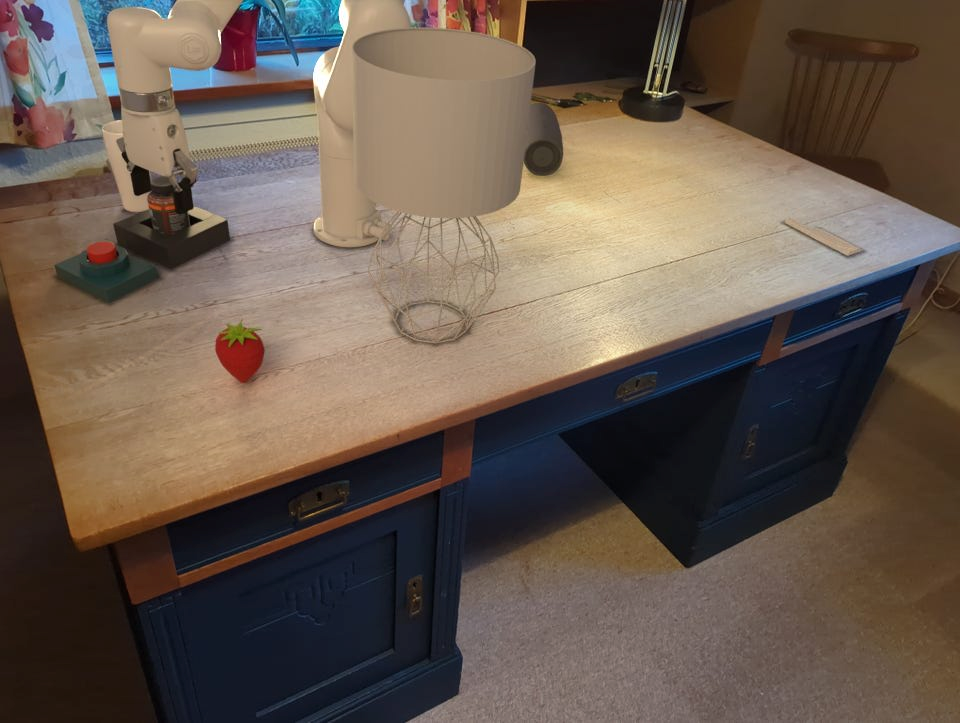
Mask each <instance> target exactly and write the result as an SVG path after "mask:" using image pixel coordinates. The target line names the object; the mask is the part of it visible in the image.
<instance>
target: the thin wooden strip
mask: <svg viewBox="0 0 960 723" xmlns="http://www.w3.org/2000/svg"><path fill="white" fill-rule="evenodd" d="M784 224H786V225H788V226H790V227H792V228H794V229H795V230H798V231H799V232H801V233H803V234H805V235H807V236H809V237H811V238H812V239H815V240H816V241H818V242H820V243H821V244H823V245H825V246H827V247H829V248H831V249H833V250H835V251H837V252H840V253H841V254H843V255H845V256H847V257H849V256H852V255H854V254H857V253H860V252H864V249H862V248H861V247H859V246H857V245H855V244H853V243H850V242H848V241H846V240H845V239H843V238H840V237H838V236H836V234H835V235H834V234H833V233H831V232H829V231H827V230H825V229H822V228H819V227H815V228H814V229H813V228H810V227H808V226H807V225H805V224H802V223H801V222H799V221H797V220H795V219H794V218H792V217H789V218H786V219H785V221H784Z"/></svg>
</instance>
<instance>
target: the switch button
mask: <svg viewBox="0 0 960 723" xmlns="http://www.w3.org/2000/svg"><path fill="white" fill-rule="evenodd" d="M86 249H87V254H88V258H89V261H90V262H92V263H106V262H110V261H112V260H115V259H116V258H117V252H116V248H115V244H114V243H112V242H110V241H97V242H93V243H91V244H89V245H88V246H87V247H86Z"/></svg>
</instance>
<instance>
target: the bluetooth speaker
mask: <svg viewBox="0 0 960 723" xmlns="http://www.w3.org/2000/svg"><path fill="white" fill-rule="evenodd" d="M563 144H564V143H563V135H562V130H561V127H560V123H559V120H558V116H557V114H556V112H555V111H554V109H553V108H552V107H551V106H550V105H549V104H546V103H543V102H534V103H531V104H530V113H529V121H528V129H527V137H526V145H525V154H524V162H523V165H524V166H525V168H526V169H527V171H528V172H530V173H531V174H532V175H534V176H539V177H548V176H551V175H553V174H554V173H556V172H557V171H558V170H559V169H560V168H561V166H562V163H563V158H564V145H563Z"/></svg>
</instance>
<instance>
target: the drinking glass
mask: <svg viewBox="0 0 960 723" xmlns="http://www.w3.org/2000/svg"><path fill="white" fill-rule="evenodd" d="M101 133H102V140H103V144H104V148H105V153H106V156H107V159H108V162H109V165H110V168H111V171H112V174H113V178H114V180H115V183H116V187H117V190H118V193H119V197H120V200H121V205H122V207H123V209H124V210H126V211H127V212H130V213H140V212H143V211H145V210H148V209H149V205H148V200H147V196H148V194H149V193H150V192H151V191H150V192H148V193H145V194H143V195H140V196H136V195H134V192H133V186H132V181H131V175H130V173H132V172H129V171H128V170H127V167H126V166H127V163H126V162H125V160H124V159H123V158H122V155H121V153H122V152H121V151H120V149H119V147H118V145H117V142H116V140H117V139H119V138H122V137H123V129H122V119H119V120H113V121H109V122H107V123H104V124H103V125H102V126H101ZM149 174H150V180H152V175H151V171H149Z"/></svg>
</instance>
